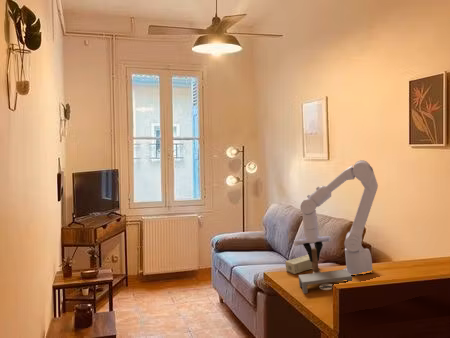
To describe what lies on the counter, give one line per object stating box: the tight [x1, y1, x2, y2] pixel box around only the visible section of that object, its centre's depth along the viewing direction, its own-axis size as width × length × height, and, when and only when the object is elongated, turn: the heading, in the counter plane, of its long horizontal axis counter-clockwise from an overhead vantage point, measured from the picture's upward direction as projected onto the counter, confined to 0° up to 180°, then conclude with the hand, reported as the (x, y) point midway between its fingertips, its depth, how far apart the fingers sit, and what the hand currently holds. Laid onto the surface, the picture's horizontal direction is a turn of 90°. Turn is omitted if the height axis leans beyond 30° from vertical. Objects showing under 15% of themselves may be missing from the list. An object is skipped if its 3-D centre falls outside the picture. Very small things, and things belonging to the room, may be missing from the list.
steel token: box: [319, 282, 333, 291], centre depth 159 cm, size 5×5×1 cm
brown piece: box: [311, 246, 321, 273], centre depth 171 cm, size 6×12×10 cm, turn 0°
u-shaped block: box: [298, 268, 353, 294], centre depth 160 cm, size 18×8×4 cm, turn 90°
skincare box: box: [284, 254, 312, 275], centre depth 182 cm, size 6×4×12 cm
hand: (314, 260), depth 176 cm, fingers closed on brown piece
